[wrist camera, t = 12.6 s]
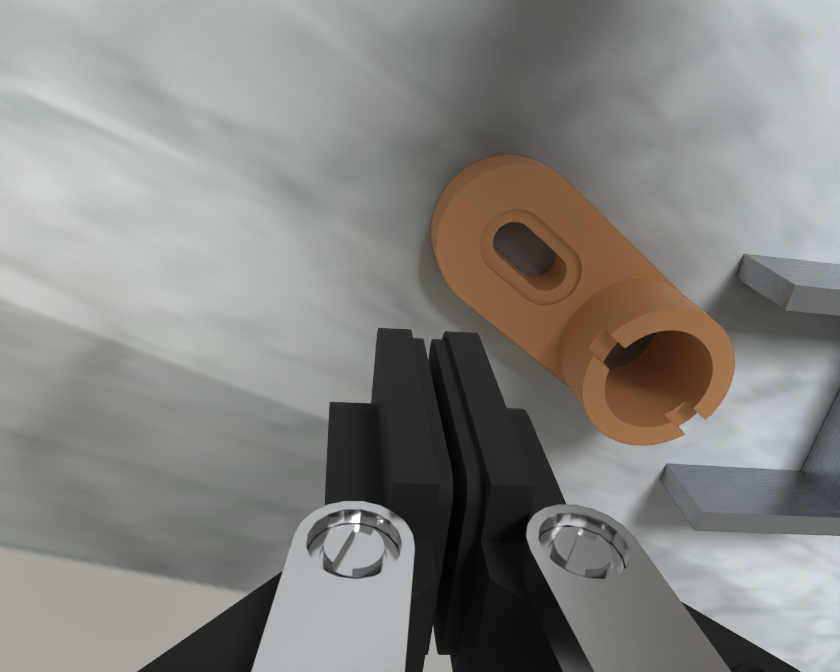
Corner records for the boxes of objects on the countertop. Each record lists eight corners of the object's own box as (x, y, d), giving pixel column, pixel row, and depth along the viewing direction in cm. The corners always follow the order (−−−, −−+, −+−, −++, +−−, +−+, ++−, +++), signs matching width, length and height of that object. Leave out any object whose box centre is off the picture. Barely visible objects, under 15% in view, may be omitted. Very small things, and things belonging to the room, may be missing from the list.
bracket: (701, 315, 42) (764, 368, 36) (604, 404, 44) (647, 469, 38) (502, 120, 35) (538, 145, 29) (400, 237, 37) (412, 282, 31)
